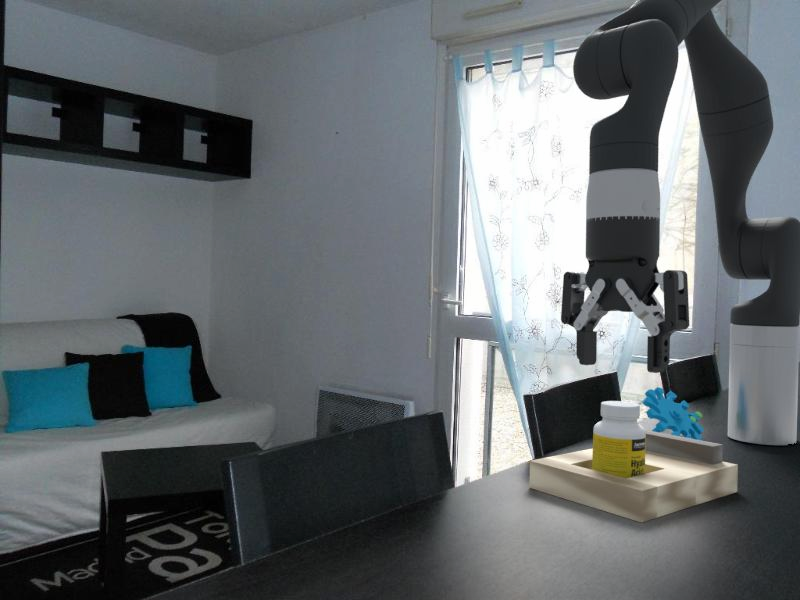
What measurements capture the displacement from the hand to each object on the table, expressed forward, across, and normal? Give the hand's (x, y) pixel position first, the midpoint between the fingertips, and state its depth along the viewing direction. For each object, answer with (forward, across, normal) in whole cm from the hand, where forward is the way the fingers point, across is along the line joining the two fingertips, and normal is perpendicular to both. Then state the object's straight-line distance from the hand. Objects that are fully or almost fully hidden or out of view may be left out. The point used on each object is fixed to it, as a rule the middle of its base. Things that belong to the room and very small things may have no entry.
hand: (620, 368), depth 75 cm
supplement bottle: (+14, 0, 0) cm, 14 cm away
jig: (+14, 0, -3) cm, 14 cm away
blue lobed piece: (+14, +12, -31) cm, 36 cm away
